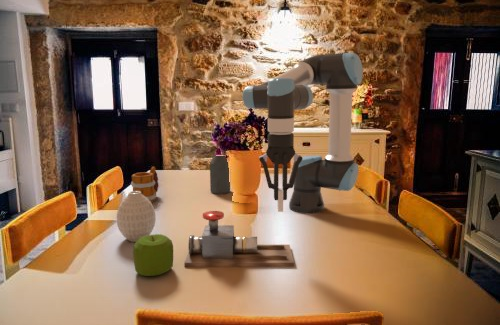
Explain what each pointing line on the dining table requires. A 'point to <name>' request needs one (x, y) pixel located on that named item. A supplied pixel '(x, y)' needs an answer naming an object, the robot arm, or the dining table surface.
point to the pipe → (244, 244)
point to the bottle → (219, 175)
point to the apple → (153, 255)
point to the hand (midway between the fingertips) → (280, 210)
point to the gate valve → (213, 239)
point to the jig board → (248, 258)
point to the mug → (146, 183)
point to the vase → (135, 216)
